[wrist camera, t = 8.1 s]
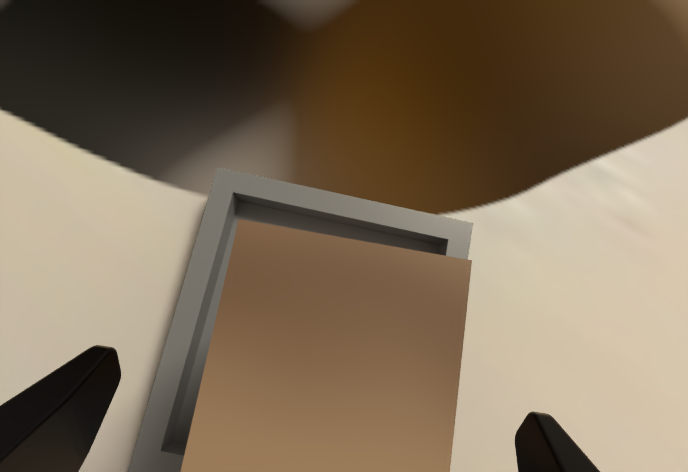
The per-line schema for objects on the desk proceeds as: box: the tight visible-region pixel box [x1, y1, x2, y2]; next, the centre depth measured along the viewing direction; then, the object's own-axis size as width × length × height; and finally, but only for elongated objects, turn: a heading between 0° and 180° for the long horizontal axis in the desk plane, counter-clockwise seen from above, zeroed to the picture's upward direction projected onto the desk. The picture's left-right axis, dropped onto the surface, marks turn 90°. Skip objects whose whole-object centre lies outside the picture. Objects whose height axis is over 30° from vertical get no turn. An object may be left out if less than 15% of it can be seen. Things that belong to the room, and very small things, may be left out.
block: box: [181, 219, 472, 472], centre depth 13 cm, size 4×4×12 cm
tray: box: [128, 167, 473, 472], centre depth 19 cm, size 13×12×2 cm
